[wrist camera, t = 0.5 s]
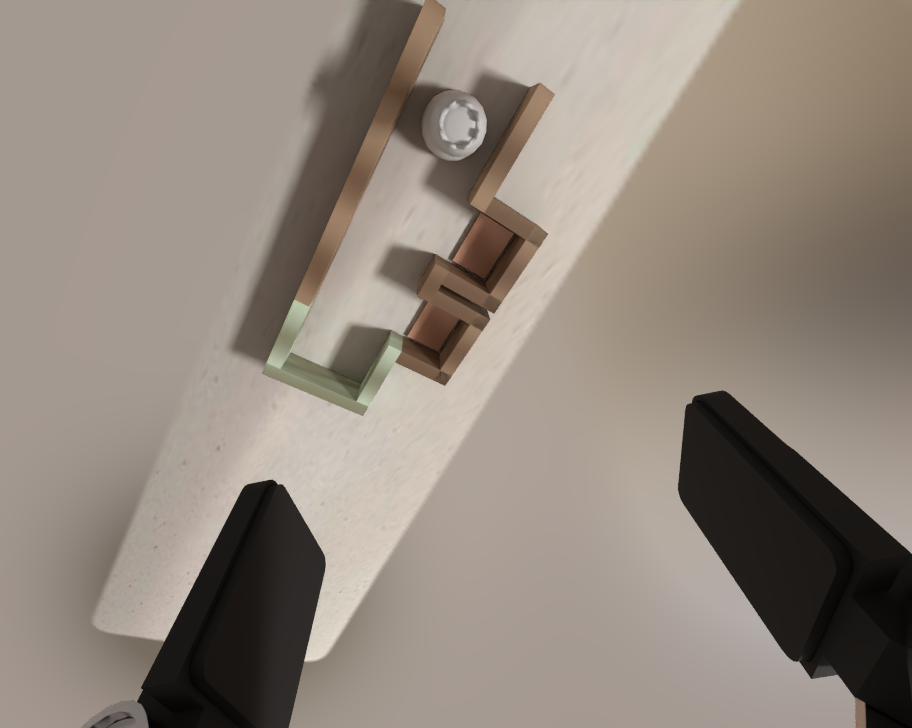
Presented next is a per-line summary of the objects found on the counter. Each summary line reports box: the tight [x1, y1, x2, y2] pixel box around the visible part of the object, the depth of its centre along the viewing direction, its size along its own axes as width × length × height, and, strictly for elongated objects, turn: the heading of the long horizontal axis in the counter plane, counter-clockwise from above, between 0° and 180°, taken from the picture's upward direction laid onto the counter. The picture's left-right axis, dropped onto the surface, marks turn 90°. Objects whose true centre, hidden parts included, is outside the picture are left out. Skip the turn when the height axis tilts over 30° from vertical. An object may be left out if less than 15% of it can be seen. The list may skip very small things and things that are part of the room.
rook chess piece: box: [421, 90, 487, 161], centre depth 27 cm, size 4×4×8 cm
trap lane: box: [262, 0, 555, 416], centre depth 33 cm, size 29×14×3 cm, turn 150°
